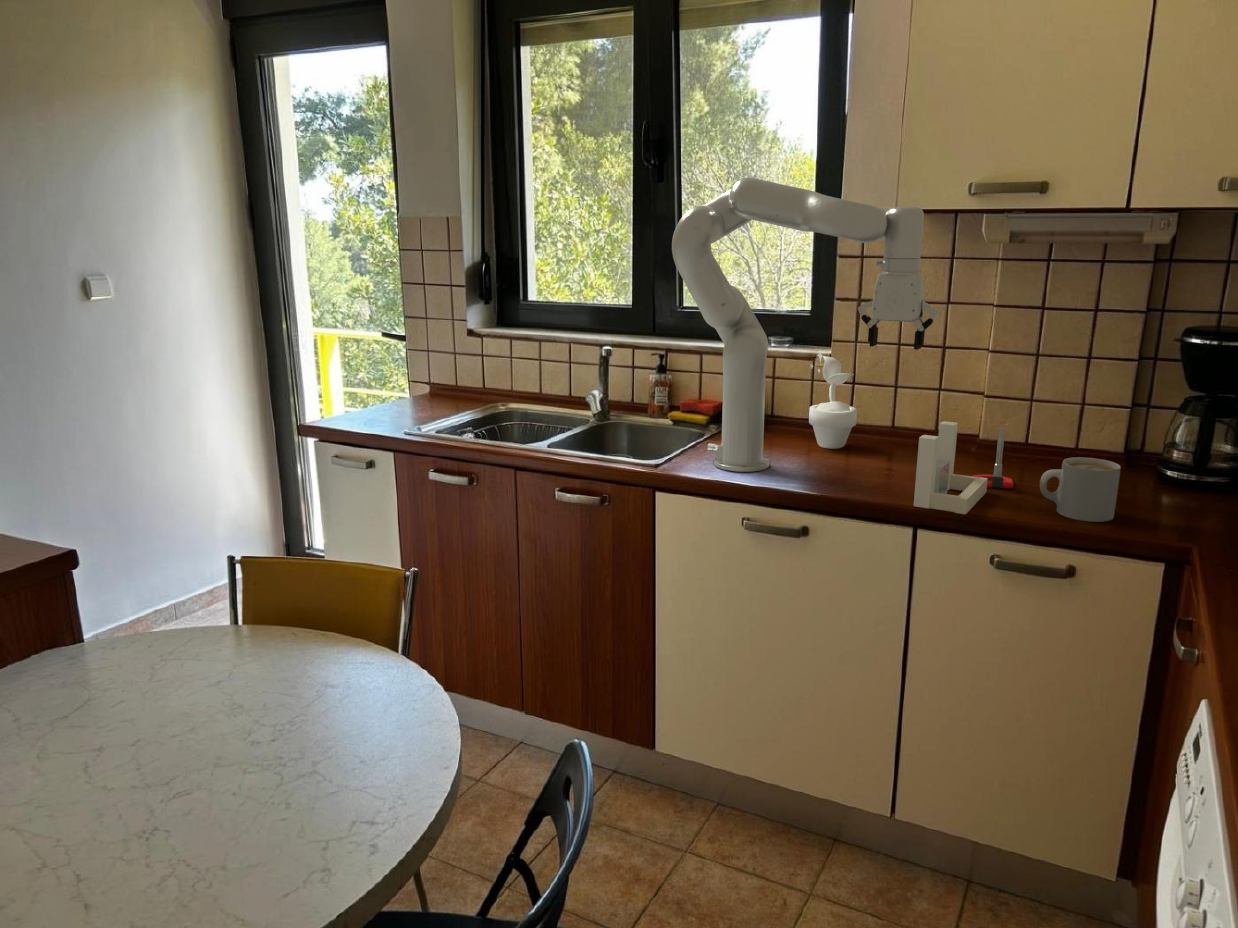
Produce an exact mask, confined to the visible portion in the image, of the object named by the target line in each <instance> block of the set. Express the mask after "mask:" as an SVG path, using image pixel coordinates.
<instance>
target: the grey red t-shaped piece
mask: <svg viewBox="0 0 1238 928" xmlns="http://www.w3.org/2000/svg"><path fill="white" fill-rule="evenodd" d="M1004 433H1005V428H1001V427H1000V428H999V434H998V435H999V436H998V438H997V446H996V456H995V464H994V465H993V466H994V467H993V474H974V475H972V476H971V477H982V478H988V481H987V489H988V488H989V489H997V490H998V489H1006V490H1007V489H1010V490H1011V489H1012V490H1013V489H1014V481H1013V479H1012V478H1010V477H1007V476H1006V477H1005V476H1003V475H1002V473H1003V467H1004V466H1003V464H1002V463H1003V452H1004V443H1005V438H1004V435H1005V434H1004Z"/></svg>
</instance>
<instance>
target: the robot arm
mask: <svg viewBox="0 0 1238 928" xmlns="http://www.w3.org/2000/svg"><path fill="white" fill-rule="evenodd" d="M924 215H925V214H924V211H923V209H922V208H920V207H918V206H896V207H892V208H884V207H877V206H875V205H871V204H866V203H862V202H856V201H853V200H848V199H843V198H838V197H833V196H829V195H826V194H822V193H820V192H817V191H814V190H809V189H807V188H801V187H796V186H791V185H786V184H784V183H783V184H782V183H778V182H773V181H768V180H763V179H759V178H754V177H744V178H743V177H742V178H741V179H738V180H737V181H736V182H735V183H734V184H733V185H732V186H731V188H730V189H728V190H727V191H726V192H723V194H721V195H719V196H717V197H715V198H714V199H711V201H708V202H707V203H705V204H704V205H696V206H693V207H691V208H690V209H688V210H687V211H686V212H685V213H684V214H683V215H682V216H681V218H680V219H679V221H678V223H677V225H676V226H675V229H674V231H673V235H672V241H671V252H672V253H671V254H672V258H673V261H674V265H675V267H676V268H677V271H678V272H679V275H680V276H681V279H682V281H683V282H684V283H685V286H686V287H687V289H688V291H689V294H690V295H691V298H692V299H693V300H694V302H695V304H696V306H697V308H698V310H699V312H700V313H701V316H702V318H703V320H704V321H705V322H706V323H707V325H709V326H710V327H711V328H713V329H715V330H716V332H717V334H718V336H719V338H720V339H721V340H722V342H723V344H724V345H723V350H722V415H721V416H722V417H721V421H722V422H721V443H720V444H716V443H711V442H709V443H708V444H707V447H706V452H707V454H712V455H713V454H714V455H716V457H715V459H714V461H713V462H714V466H715V467H716V468H719V469H721V470H723V471H724V470H725V471H730V472H737V473H739V472H741V473H749V472H751V473H752V472H759V471H763V470H766V469H768V468H769V467H770V460H769V459H768V458H766V457H763V456H764V455H763V454H764V433H765V430H764V429H765V407H766V406H765V405H766V404H765V403H766V377H767V376H766V373H767V372H766V371H767V368H766V367H767V355H768V350H769V349H768V348H769V341H768V337H767V334H766V332H765V331H764V329H763V327H762V325H761V323H760V322H759V320H758V318H757V316H756V314H755V313H754V312H753V309H752V308H751V306H750V304H749V303H748V301H747V299H746V298H745V296H744V294H743V293H742V291H740V290H739V288H737V287H736V286H734V285H732V284H730V282H729V280H728V279H727V277H726V275H725V274H724V272H723V269H722V268H721V266H720V264H719V262H718V261H717V259H716V258H715V256H714V254H713V252H712V246H711V245H712V244H714V243H716V242H718V241H719V240H721V239H722V238H725V237H726V236H728V235H729V234H731V233H733V232H735V231H736V230H737V229H740V228H742V227H743V226H745V225H746V224H747V223H750V222H751V221H756V222H759V223H765V224H770V225H774V226H777V227H778V226H779V227H783V228H787V229H791V230H794V231H795V230H797V231H802V232H805V233H806V232H807V233H808V232H810V233H819V234H823V235H828V236H831V237H837V238H842V239H845V240H851V241H853V242H859V243H863V244H870V243H871V244H872V243H875V242H878V241H884V248H883V258H882V259H881V260H877V261H876V268H880V269H881V273H880V272H879V273H878V274H877V277H876V281H875V285H874V290H873V291H874V292H873V297H872V300H870V301H867V302H866V303H864V304H862V305H859V306H858V307H857V310H858V313H859V315H860V317H861V320H862V321H863V323H864V324H865V325H866V327H867V328H868V334H867V342H868V343H869V347H875V346H877V345H878V338H879V327H878V326H877V325H878V324H879V323H880V322H881V321H884V322H887V321H888V322H901V323H913V325H914V326H915V328H916V330H915V332H914V343H913V350H915V351H919V350H921V349H922V346H924V344H925V334H926V333H925V331H926V330H927V329H928V328H929V327H930V326H931V325H932V324H934V323H935V320H937V318H938V316H939V314H940V310H939V309H937V308H936V307H934V306H932V305H931V304H929V303H927V302H926V301H925V298H924V297H925V295H924V293H925V292H924V290H925V289H924V279H923V273H920V270H921V269H920V267H921V256H922V255H921V253H922V243H923V242H922V241H923V230H924V217H925V216H924ZM870 308H871V316H869V314H868V310H869V309H870ZM924 311H926V312H928V313H929V316H928V318H927V319H926V320H925V321H924V320H923V316H924Z"/></svg>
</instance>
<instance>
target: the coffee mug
mask: <svg viewBox="0 0 1238 928" xmlns="http://www.w3.org/2000/svg"><path fill="white" fill-rule="evenodd" d="M1061 463H1062V464H1061V469H1060V468H1059V469H1049V470H1046V471H1045V472H1043V474H1042V475H1041V477H1040V480H1039V488H1040V492H1041V495H1042V496H1043V497H1044V498H1046V499H1048V500H1050V501H1052V502H1053V503H1055V504H1056V512H1057V513H1058V514H1059V515H1061V516H1062V517H1064V518H1065V517H1066V518H1069V519H1072V520H1075V521H1076V520H1077V521H1083V522H1093V523H1095V522H1097V523H1098V522H1109V521H1112V520H1113V519H1114V518H1115V511H1116V504H1117V497H1118V491H1119V483H1120V477H1121V476H1120V475H1121V469H1122V467H1121V465H1120V464H1118V463H1116V462H1114V461H1111V460H1107V459H1101V458H1100V459H1099V458H1094V457H1083V456H1082V457H1080V456H1078V457H1069V458H1064V459H1063V461H1062V462H1061ZM1052 478H1057V479H1058V486H1057V489H1056V490H1055V491H1050V490H1049V489H1048V482H1049V480H1050V479H1052Z"/></svg>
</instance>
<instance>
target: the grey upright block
mask: <svg viewBox="0 0 1238 928" xmlns="http://www.w3.org/2000/svg"><path fill="white" fill-rule="evenodd" d="M949 466H950V461H943V460H937V465H936V476H935V487H934V492H935V493H942V494H948V490H947V487H948V476H949Z"/></svg>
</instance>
